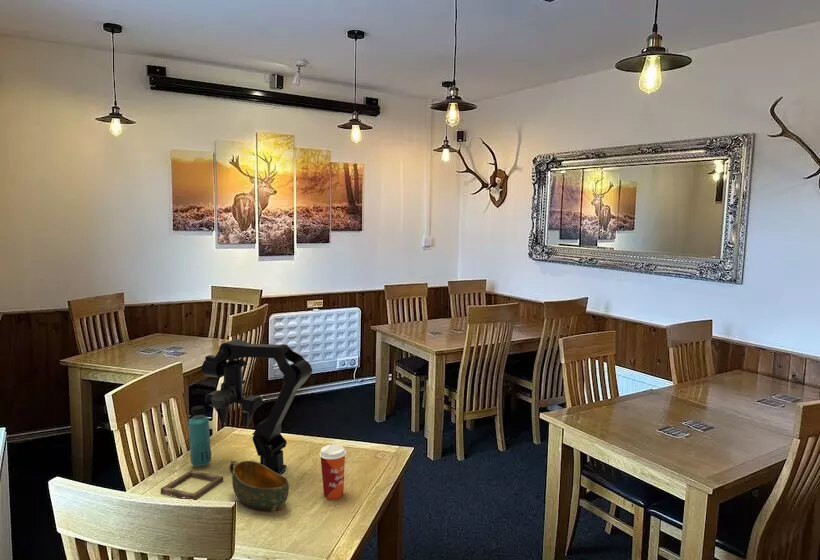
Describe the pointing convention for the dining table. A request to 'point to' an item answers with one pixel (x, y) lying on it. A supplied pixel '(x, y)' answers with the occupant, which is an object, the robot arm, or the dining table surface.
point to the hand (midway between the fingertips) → (235, 425)
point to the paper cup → (333, 470)
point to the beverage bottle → (199, 437)
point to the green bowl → (258, 486)
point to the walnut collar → (168, 488)
